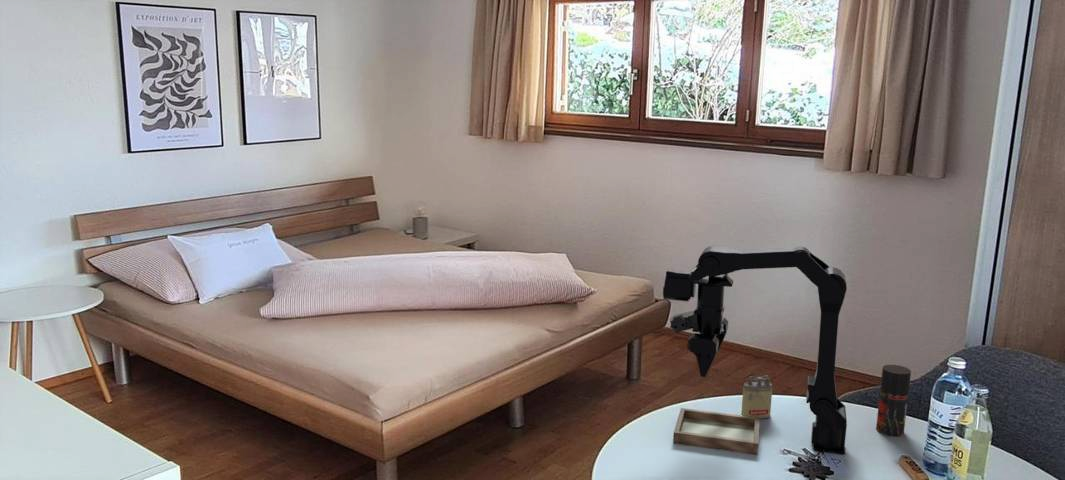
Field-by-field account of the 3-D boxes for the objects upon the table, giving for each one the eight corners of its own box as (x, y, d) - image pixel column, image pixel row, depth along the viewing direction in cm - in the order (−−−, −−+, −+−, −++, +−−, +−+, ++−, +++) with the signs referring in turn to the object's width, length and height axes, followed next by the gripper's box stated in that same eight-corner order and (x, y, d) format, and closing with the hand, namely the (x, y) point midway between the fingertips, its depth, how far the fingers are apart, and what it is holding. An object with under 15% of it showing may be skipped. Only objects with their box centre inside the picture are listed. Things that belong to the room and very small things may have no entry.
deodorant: (905, 438, 191) (912, 375, 188) (877, 434, 193) (884, 372, 189) (901, 427, 197) (908, 366, 193) (874, 424, 198) (881, 363, 195)
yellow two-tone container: (744, 420, 199) (747, 380, 197) (738, 413, 203) (740, 374, 201) (772, 418, 200) (776, 378, 198) (766, 412, 204) (769, 372, 202)
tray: (758, 428, 195) (759, 417, 194) (757, 454, 182) (758, 443, 181) (680, 418, 200) (680, 407, 199) (673, 443, 187) (673, 432, 186)
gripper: (682, 289, 199) (679, 352, 203) (665, 310, 182) (662, 379, 185) (730, 294, 195) (726, 358, 199) (717, 316, 178) (713, 386, 182)
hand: (706, 369), depth 191 cm, fingers open, 9 cm apart
